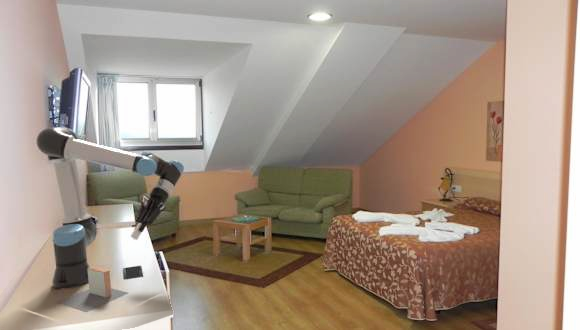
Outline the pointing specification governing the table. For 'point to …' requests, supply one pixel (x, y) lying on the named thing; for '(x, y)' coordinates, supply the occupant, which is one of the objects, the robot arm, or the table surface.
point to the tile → (99, 281)
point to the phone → (132, 272)
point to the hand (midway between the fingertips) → (133, 237)
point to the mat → (90, 300)
